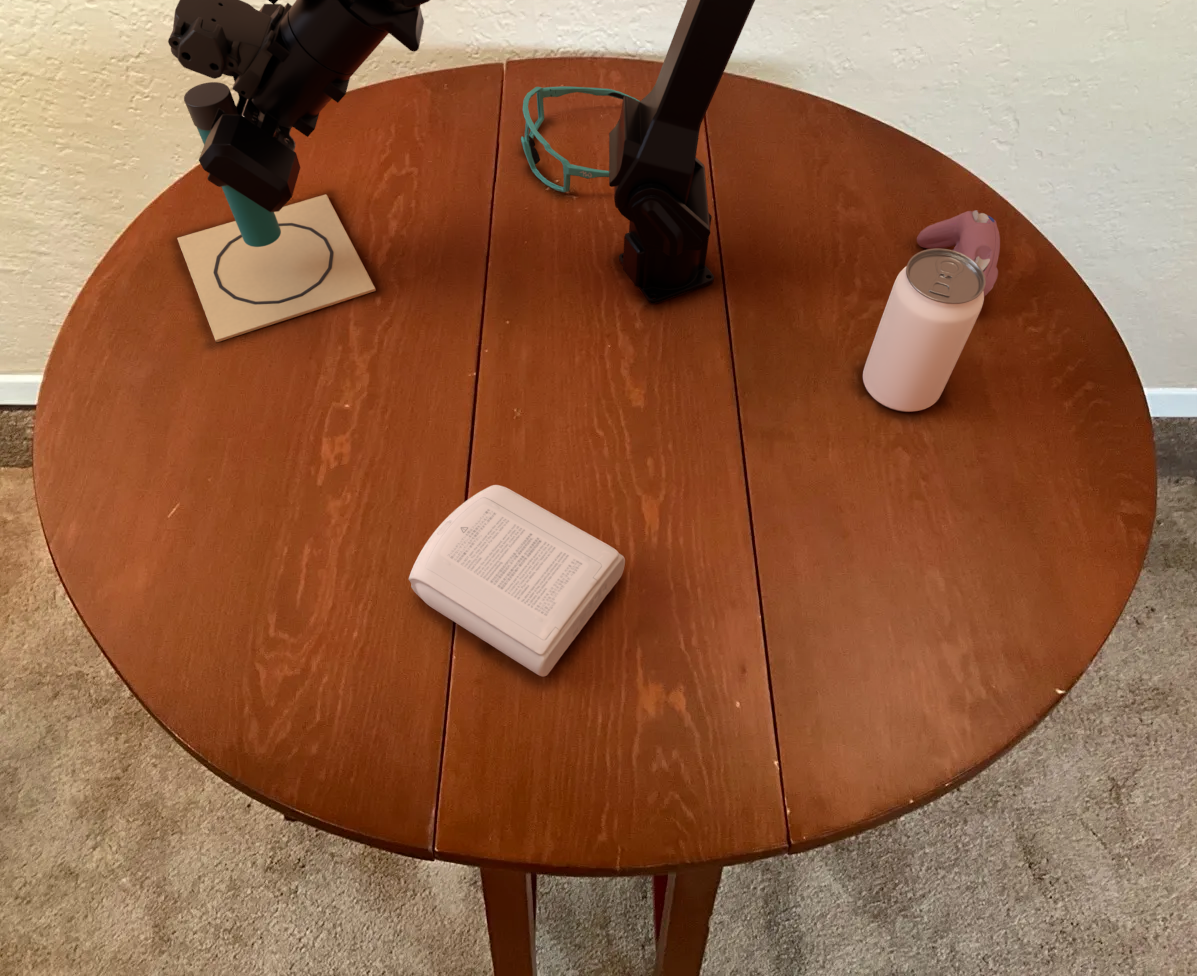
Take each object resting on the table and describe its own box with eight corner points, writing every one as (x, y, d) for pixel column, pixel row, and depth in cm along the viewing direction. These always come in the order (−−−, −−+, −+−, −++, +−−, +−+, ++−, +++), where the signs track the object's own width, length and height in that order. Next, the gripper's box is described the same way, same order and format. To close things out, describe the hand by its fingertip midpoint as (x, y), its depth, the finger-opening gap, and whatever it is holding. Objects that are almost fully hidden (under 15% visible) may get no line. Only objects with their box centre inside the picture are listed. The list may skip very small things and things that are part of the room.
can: (949, 370, 80) (1000, 260, 70) (930, 425, 77) (981, 318, 67) (873, 345, 81) (913, 234, 72) (851, 398, 78) (889, 289, 68)
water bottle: (280, 245, 82) (227, 103, 71) (240, 250, 82) (180, 108, 71) (283, 220, 84) (231, 79, 73) (244, 225, 84) (186, 84, 73)
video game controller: (950, 334, 84) (1013, 286, 79) (909, 310, 83) (970, 260, 78) (950, 258, 90) (1009, 208, 84) (911, 234, 89) (969, 182, 83)
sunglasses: (506, 119, 98) (508, 73, 94) (646, 112, 102) (653, 68, 98) (534, 207, 91) (537, 162, 87) (684, 197, 94) (694, 153, 90)
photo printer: (626, 575, 69) (486, 497, 72) (628, 543, 65) (481, 463, 69) (544, 689, 64) (398, 599, 67) (541, 662, 60) (388, 568, 64)
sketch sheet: (326, 196, 91) (326, 193, 91) (375, 290, 84) (375, 287, 84) (178, 240, 88) (176, 237, 88) (216, 342, 81) (215, 339, 81)
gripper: (248, -111, 69) (152, 34, 78) (182, 35, 58) (80, 184, 68) (379, -2, 75) (275, 121, 85) (340, 148, 65) (227, 270, 74)
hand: (218, 168), depth 77 cm, fingers closed on water bottle, 3 cm apart
